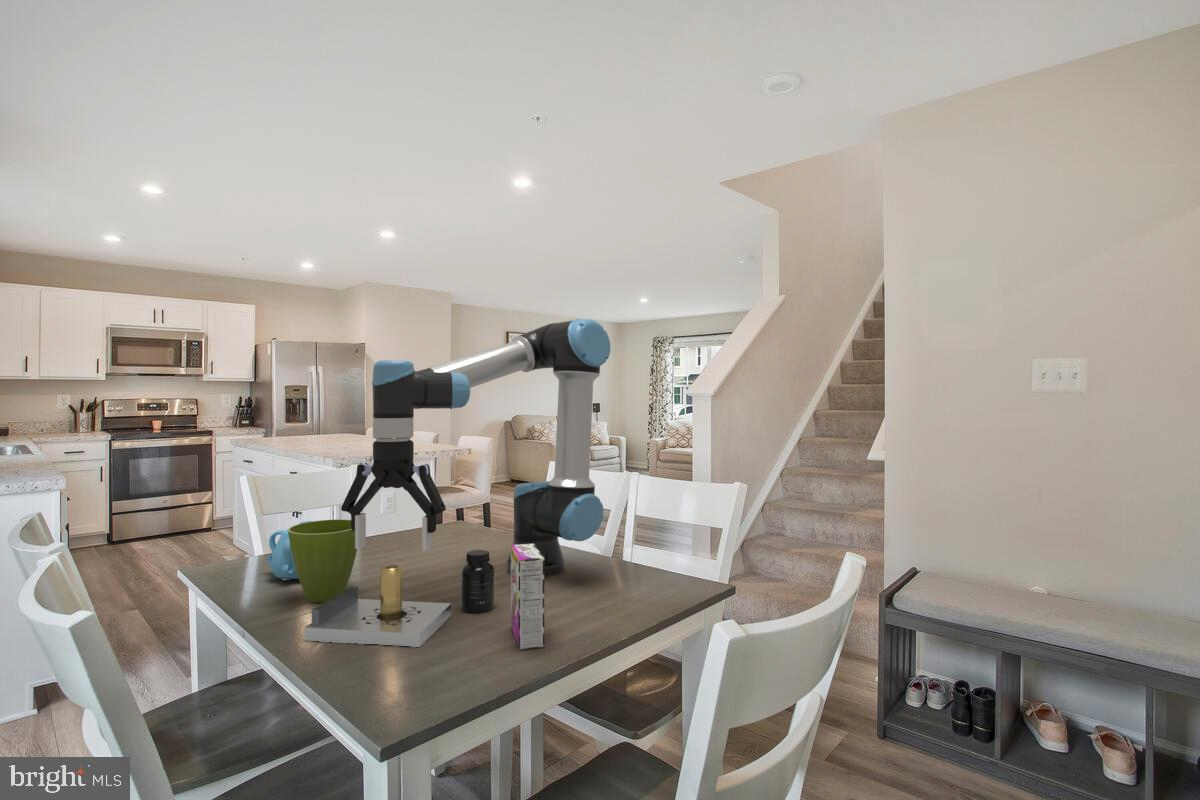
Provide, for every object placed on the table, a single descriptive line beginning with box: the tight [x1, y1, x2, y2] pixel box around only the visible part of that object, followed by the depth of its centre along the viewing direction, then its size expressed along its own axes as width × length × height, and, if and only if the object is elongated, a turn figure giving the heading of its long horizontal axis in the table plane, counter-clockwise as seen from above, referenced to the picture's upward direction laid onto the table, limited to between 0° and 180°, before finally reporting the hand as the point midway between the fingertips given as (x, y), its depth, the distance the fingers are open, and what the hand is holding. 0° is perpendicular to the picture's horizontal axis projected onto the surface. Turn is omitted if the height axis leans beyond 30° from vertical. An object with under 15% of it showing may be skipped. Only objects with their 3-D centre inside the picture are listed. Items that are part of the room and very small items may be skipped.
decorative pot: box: [267, 520, 313, 580], centre depth 149 cm, size 16×16×14 cm
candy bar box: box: [510, 544, 545, 651], centre depth 111 cm, size 11×5×16 cm, turn 17°
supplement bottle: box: [461, 549, 495, 614], centre depth 126 cm, size 7×7×12 cm
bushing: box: [380, 563, 404, 621], centre depth 115 cm, size 4×4×12 cm
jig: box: [303, 585, 452, 648], centre depth 115 cm, size 22×16×6 cm
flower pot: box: [287, 519, 358, 603], centre depth 132 cm, size 15×15×16 cm
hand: (393, 548), depth 115 cm, fingers open, 13 cm apart
